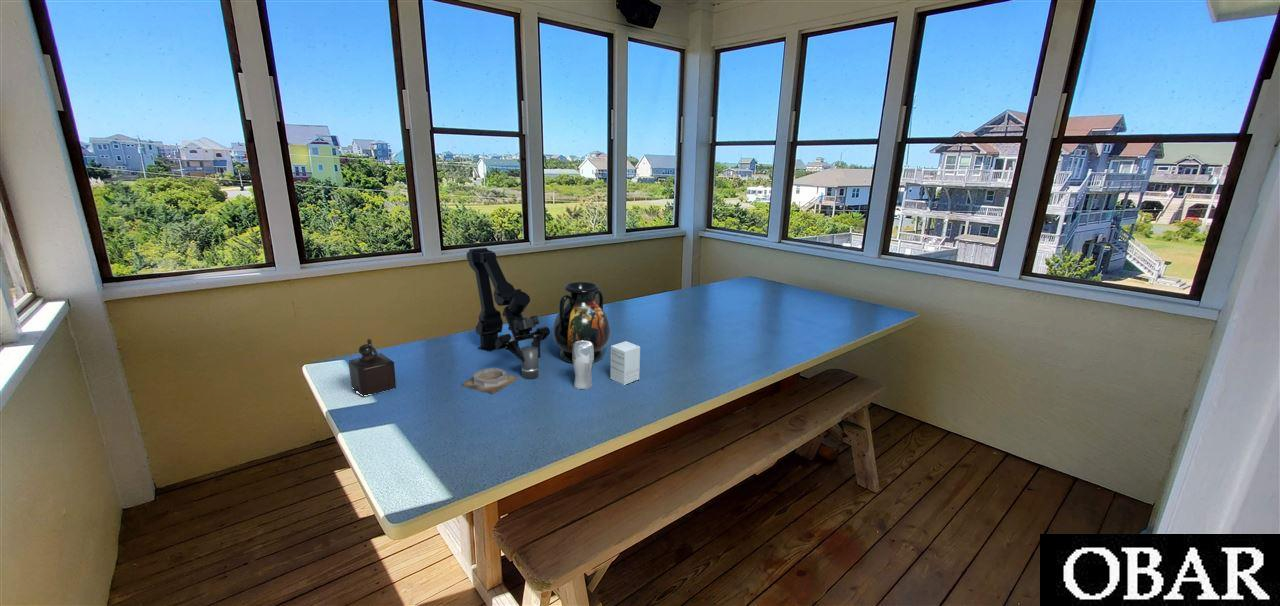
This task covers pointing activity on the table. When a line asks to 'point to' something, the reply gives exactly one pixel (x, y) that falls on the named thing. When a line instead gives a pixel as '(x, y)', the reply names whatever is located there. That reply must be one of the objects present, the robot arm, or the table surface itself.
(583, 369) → the beer glass
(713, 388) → the table surface
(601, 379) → the table surface
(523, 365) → the grey dome-topped cylinder
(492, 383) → the walnut mount board
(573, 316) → the amphora vase
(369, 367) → the brown coffee grinder
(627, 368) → the supplement box
